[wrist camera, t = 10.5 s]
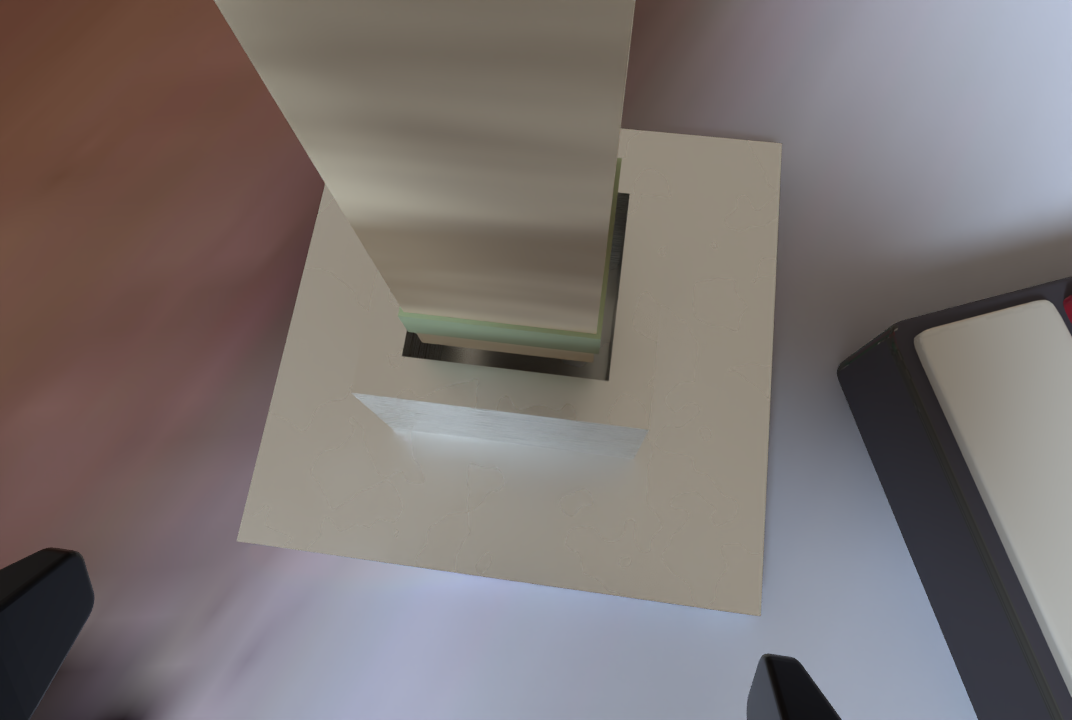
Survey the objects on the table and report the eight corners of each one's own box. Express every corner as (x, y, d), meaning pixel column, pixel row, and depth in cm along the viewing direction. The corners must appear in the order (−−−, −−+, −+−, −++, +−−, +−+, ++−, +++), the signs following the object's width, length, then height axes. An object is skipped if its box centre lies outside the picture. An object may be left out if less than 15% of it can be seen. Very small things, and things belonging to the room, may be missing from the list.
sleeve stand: (750, 614, 20) (818, 626, 14) (251, 542, 21) (143, 529, 15) (773, 161, 24) (832, 39, 18) (354, 121, 25) (295, -4, 19)
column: (596, 367, 17) (681, -257, 4) (417, 346, 17) (10, -291, 5) (616, 203, 18) (725, -655, 5) (447, 187, 18) (192, -660, 6)
